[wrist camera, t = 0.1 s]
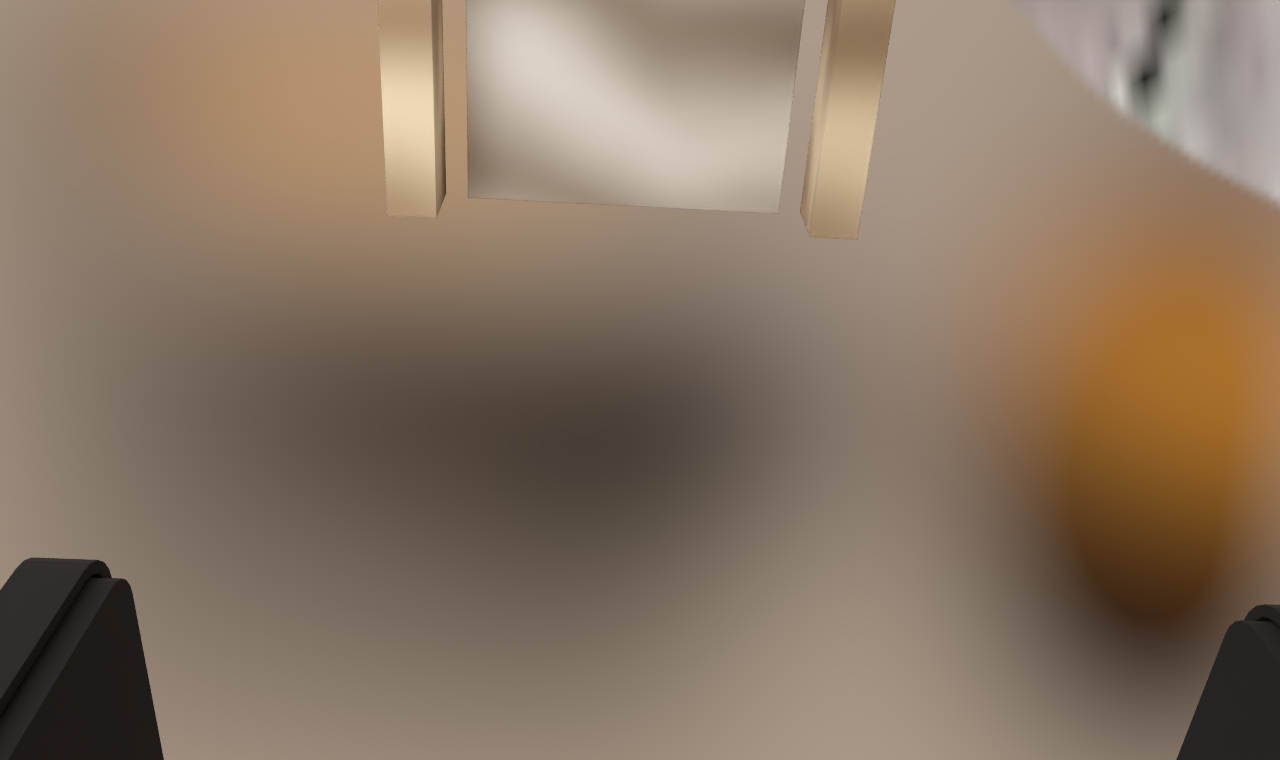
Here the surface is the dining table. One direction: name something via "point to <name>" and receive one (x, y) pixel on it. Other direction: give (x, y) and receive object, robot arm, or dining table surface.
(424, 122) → the rail cradle
